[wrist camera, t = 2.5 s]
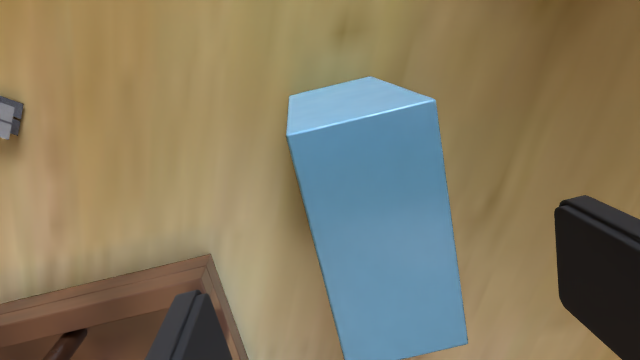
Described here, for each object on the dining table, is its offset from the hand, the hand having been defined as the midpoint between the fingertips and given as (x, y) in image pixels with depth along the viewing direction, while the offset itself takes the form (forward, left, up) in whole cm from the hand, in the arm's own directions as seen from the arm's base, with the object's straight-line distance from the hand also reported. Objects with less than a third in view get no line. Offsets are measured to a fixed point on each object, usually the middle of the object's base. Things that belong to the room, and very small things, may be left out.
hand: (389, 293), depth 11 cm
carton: (-1, 0, -10) cm, 10 cm away
